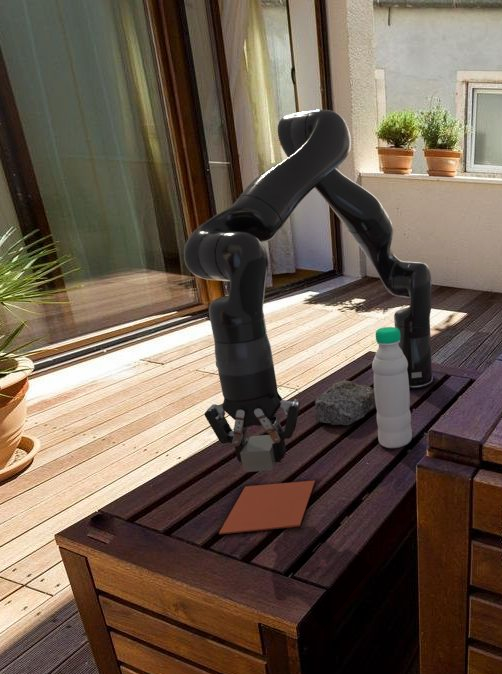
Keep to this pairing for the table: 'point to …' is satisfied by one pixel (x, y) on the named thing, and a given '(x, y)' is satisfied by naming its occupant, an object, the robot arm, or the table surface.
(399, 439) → the water bottle
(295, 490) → the mat
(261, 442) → the cube
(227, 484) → the table surface
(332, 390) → the rock
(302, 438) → the table surface
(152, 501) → the table surface
